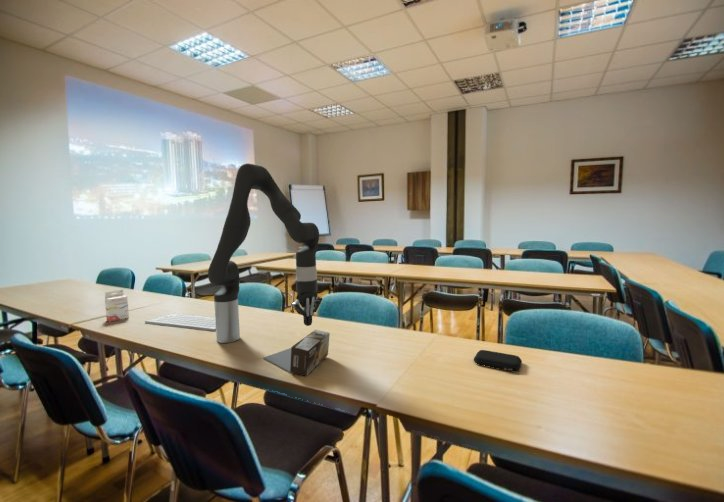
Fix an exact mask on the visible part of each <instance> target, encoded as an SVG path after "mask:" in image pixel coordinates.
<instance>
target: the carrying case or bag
mask: <svg viewBox="0 0 724 502" xmlns="http://www.w3.org/2000/svg"><path fill="white" fill-rule="evenodd" d="M473 362H474V363H475V364H476V363H477V364H479V365H478V366H481V365H485V366H484V367H486V366H490V367H489V368H491V367H494V368H493V369H496V368H499V369H498V370H501V369H503V371H505V372H511V371H517V372H518V371H520V370H521V368H522V367H521V366H522V358H521V357H520V356H518V355H514V354H510V353H504V352H498V351H491V350H488V349H487V350H485V349H480V350H479V351H478V352H477V353H476V354H475V356H474V358H473ZM477 364H476V365H477Z"/></svg>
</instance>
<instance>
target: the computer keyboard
mask: <svg viewBox="0 0 724 502" xmlns="http://www.w3.org/2000/svg"><path fill="white" fill-rule="evenodd" d="M189 315H190V316H189ZM192 315H193V314H192ZM192 315H191V314H185V315H182V313H176V314H174V313H171V314H167V315H163V316H159V317H155V318H152V319H148V320H144V324H150V325H156V326H157V325H158V326H166V327H173V328H183V329H189V330H190V329H191V330H200V331H208V332H209V331H210V332H216V321H215V318H210V317H211V316H205V317H203V315H195V316H192Z"/></svg>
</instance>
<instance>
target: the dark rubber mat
mask: <svg viewBox="0 0 724 502" xmlns="http://www.w3.org/2000/svg"><path fill="white" fill-rule="evenodd" d="M262 359H263V360H264V361H267V362H269V363H271V364H272V365H274V366H276V367H278V368H280V369H282V370H283V371H285V372H287V373H289V374H291V375H294V374H295V373H293V372H290V367H291V347H289V348H287V349H284V350H281V351H277V352H276V353H275V352H274V353H272V354H269V355H266V356H263V358H262ZM323 361H324V359H323V360H322V361H321V362H320V363H323Z"/></svg>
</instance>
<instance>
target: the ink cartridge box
mask: <svg viewBox="0 0 724 502" xmlns="http://www.w3.org/2000/svg"><path fill="white" fill-rule="evenodd" d="M104 295H105V296H104V305H105V315H106V316H105V317H106V322H107V321H108V322H109V323H110V322H111V323H112V322H115V321H116V320H117V321H122V320H126V319H129V318H130V316H129V314H130V313H129V302H128V300H129V299H128V295H124V289H118V290H117V289H116V290H112V291H105V292H104ZM125 318H126V319H125ZM121 319H122V320H121Z"/></svg>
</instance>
